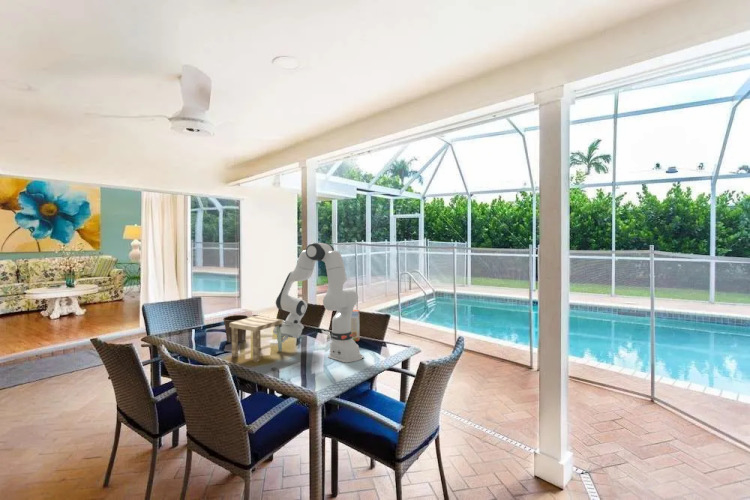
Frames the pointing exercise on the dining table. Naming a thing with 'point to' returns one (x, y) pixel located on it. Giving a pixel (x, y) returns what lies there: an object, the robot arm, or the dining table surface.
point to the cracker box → (355, 325)
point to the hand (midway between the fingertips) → (281, 341)
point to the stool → (255, 326)
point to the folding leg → (279, 338)
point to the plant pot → (229, 330)
